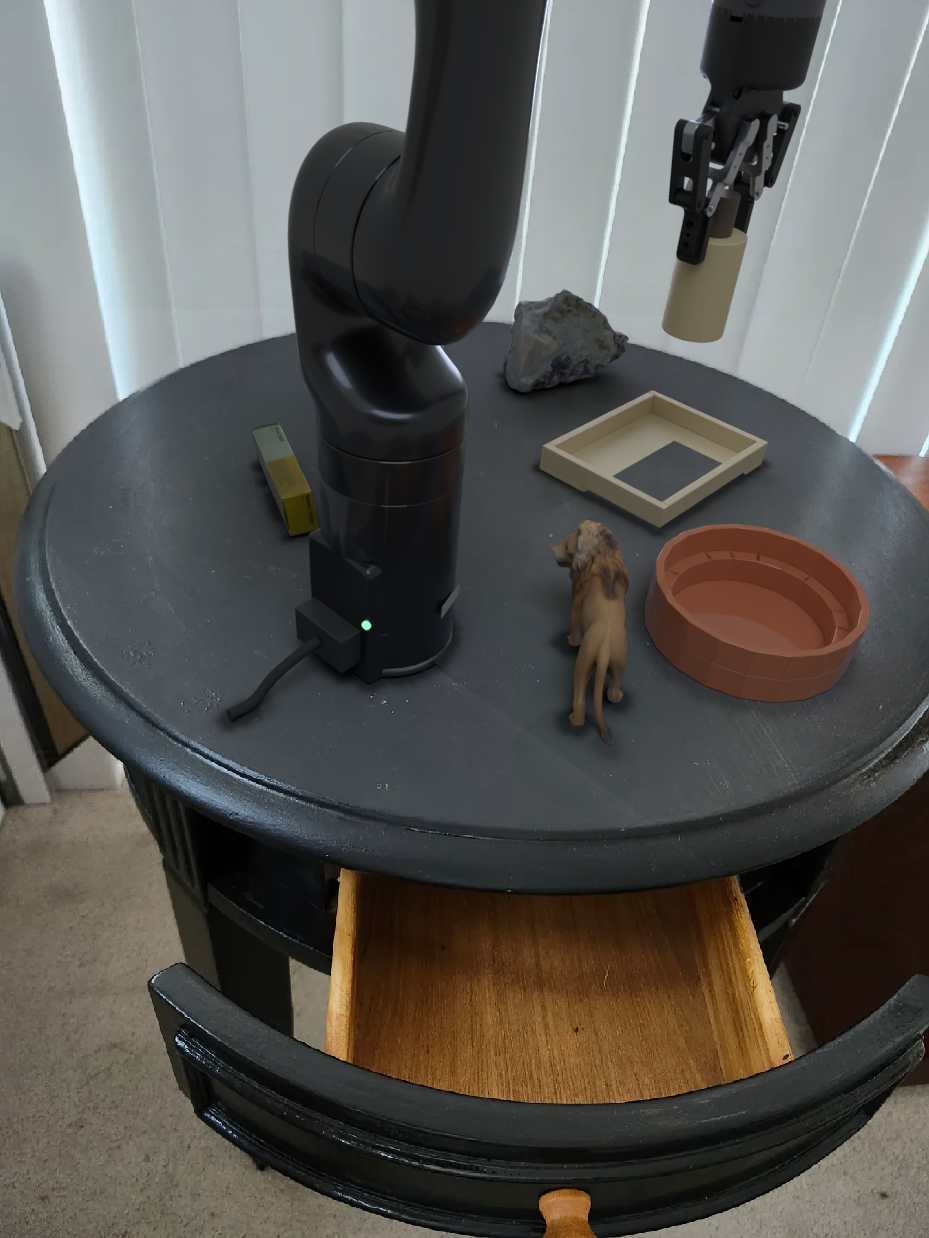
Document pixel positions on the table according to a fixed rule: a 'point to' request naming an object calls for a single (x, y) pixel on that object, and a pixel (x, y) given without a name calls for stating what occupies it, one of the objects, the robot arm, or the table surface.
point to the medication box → (285, 479)
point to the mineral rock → (559, 342)
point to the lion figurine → (596, 615)
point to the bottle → (707, 280)
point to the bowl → (755, 612)
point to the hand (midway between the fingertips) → (709, 253)
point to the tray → (639, 433)
